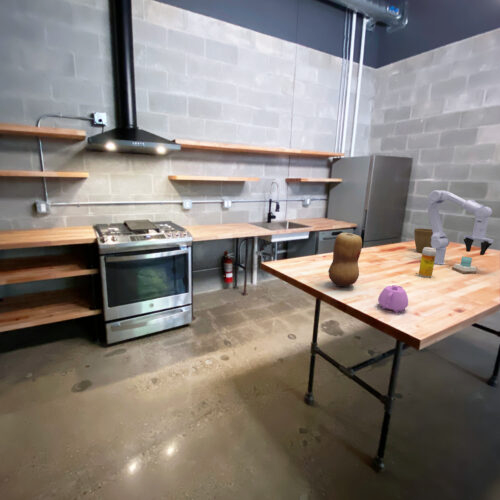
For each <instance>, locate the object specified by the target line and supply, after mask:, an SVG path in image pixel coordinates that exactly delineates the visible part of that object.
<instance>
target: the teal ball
mask: <svg viewBox="0 0 500 500" xmlns="http://www.w3.org/2000/svg"><path fill="white" fill-rule="evenodd" d="M472 260H473V258H472V257H469V256H462V257H461V260H460V263H459V264H460V265H461V266H465V267H470V266H472V262H473V261H472Z"/></svg>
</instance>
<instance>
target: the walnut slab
mask: <svg viewBox="0 0 500 500" xmlns="http://www.w3.org/2000/svg"><path fill="white" fill-rule="evenodd" d="M451 270H452V271H454V272H456V273H458V274H462V275H477V270H476V271H462V270H459V269H457V268H454V266H452V267H451Z"/></svg>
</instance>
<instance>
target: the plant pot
mask: <svg viewBox="0 0 500 500" xmlns="http://www.w3.org/2000/svg"><path fill="white" fill-rule="evenodd" d="M413 231H414V232H413V233H414V242H415V243H414V245H415V249H416V252H417V253H419V254H422V251H423V249H424V247H430V248H432V246H431V237H432V235H433V232H432V228H414V230H413Z"/></svg>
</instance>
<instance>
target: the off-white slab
mask: <svg viewBox="0 0 500 500" xmlns="http://www.w3.org/2000/svg"><path fill="white" fill-rule="evenodd" d="M460 264H461V263H454V266H453V267H454V268H457V269H459V270H462V271H477V267H476V266H473V265H471V266H470V267H465V266H461V265H460Z"/></svg>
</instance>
